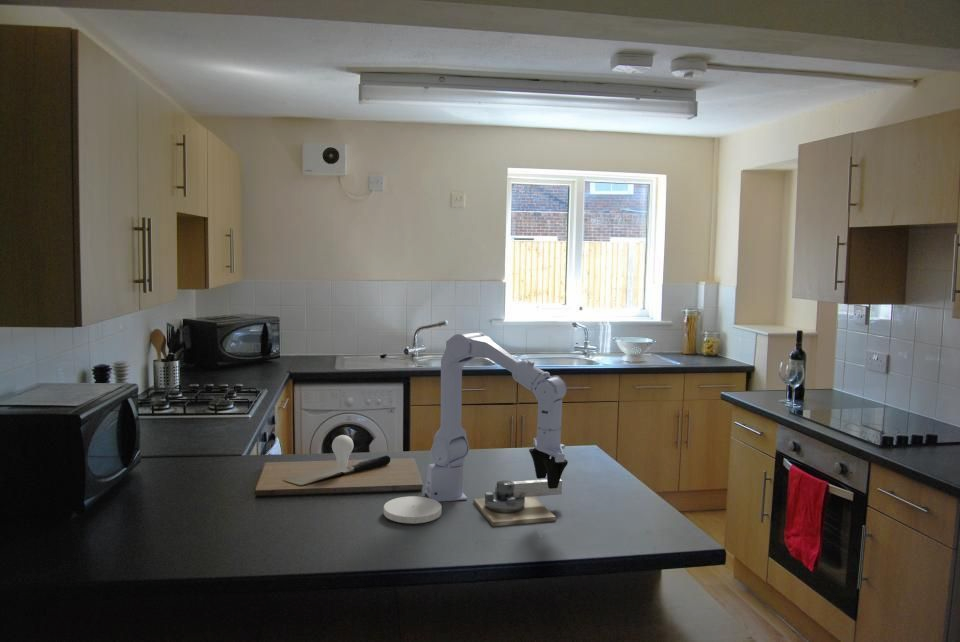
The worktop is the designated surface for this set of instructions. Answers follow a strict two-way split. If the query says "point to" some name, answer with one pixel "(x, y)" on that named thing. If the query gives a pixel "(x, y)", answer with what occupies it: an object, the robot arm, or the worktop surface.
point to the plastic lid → (412, 509)
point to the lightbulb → (342, 449)
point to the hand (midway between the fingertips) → (546, 482)
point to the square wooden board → (517, 513)
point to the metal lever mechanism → (517, 494)
